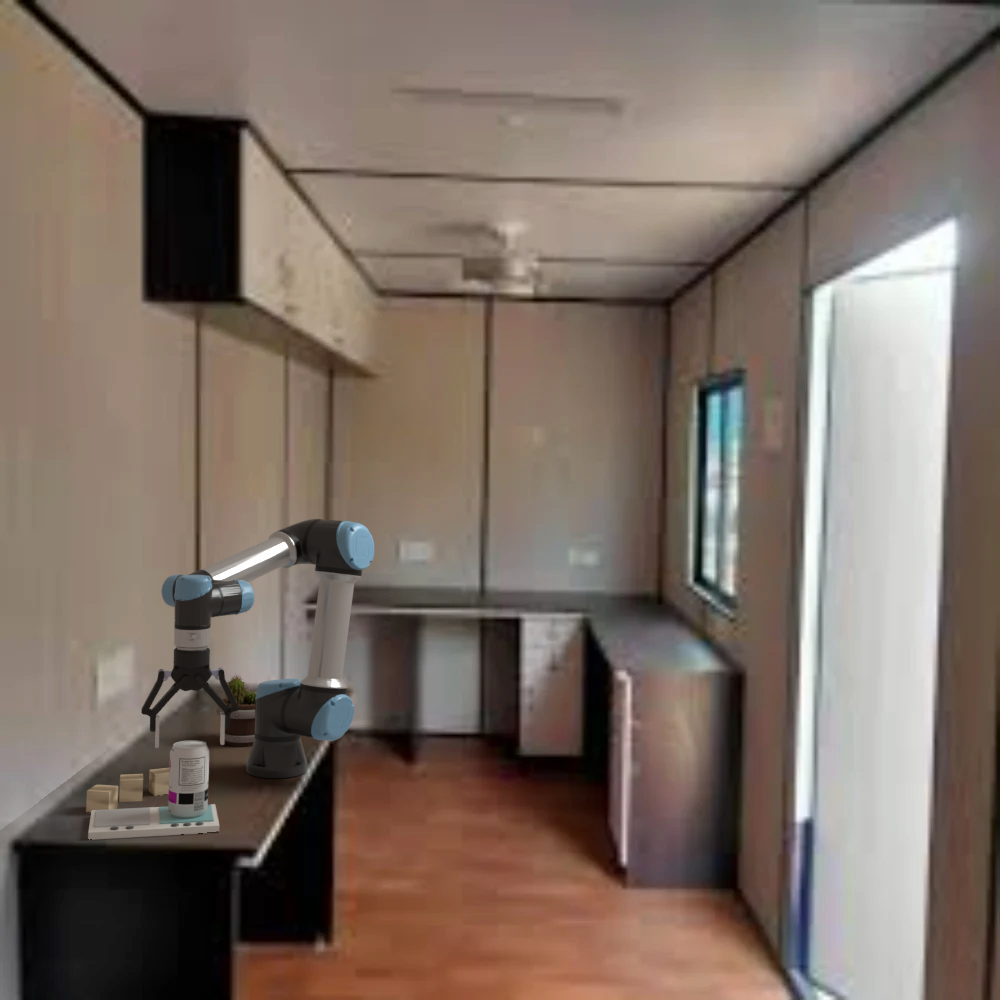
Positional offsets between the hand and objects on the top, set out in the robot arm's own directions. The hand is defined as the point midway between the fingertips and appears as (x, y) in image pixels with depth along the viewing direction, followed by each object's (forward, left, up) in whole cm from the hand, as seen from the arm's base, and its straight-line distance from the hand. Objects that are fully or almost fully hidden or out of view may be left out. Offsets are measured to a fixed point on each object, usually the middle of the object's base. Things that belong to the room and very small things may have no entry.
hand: (189, 744), depth 242 cm
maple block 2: (-19, -12, -17) cm, 28 cm away
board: (+1, -7, -17) cm, 18 cm away
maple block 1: (-11, -18, -17) cm, 27 cm away
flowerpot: (-67, +17, -17) cm, 71 cm away
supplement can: (0, 0, -15) cm, 15 cm away
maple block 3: (-23, -5, -17) cm, 29 cm away
